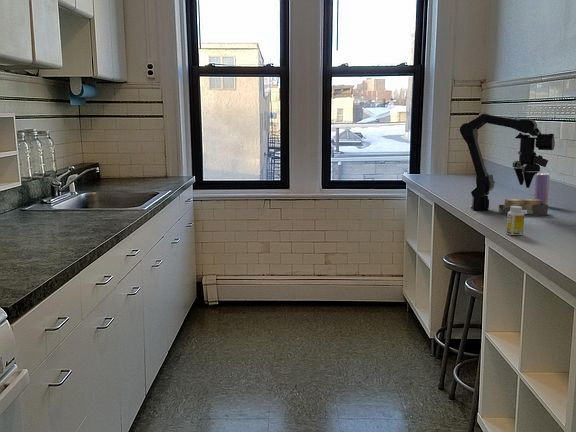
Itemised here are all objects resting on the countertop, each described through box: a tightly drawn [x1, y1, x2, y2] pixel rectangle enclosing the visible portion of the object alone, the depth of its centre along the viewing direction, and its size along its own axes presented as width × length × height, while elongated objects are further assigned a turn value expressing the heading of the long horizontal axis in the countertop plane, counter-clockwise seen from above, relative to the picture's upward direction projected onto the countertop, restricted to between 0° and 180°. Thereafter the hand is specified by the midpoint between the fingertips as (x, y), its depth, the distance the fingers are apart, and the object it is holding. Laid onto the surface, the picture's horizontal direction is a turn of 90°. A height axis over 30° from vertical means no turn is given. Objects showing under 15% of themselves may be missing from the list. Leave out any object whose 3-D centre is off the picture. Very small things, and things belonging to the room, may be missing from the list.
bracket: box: [526, 202, 549, 217], centre depth 248 cm, size 6×8×4 cm
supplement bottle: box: [505, 206, 525, 236], centre depth 207 cm, size 6×6×10 cm
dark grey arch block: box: [498, 204, 510, 216], centre depth 249 cm, size 4×8×3 cm, turn 174°
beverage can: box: [533, 172, 551, 206], centre depth 266 cm, size 6×6×15 cm
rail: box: [504, 198, 542, 211], centre depth 248 cm, size 14×4×4 cm, turn 87°
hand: (524, 186), depth 247 cm, fingers open, 9 cm apart
